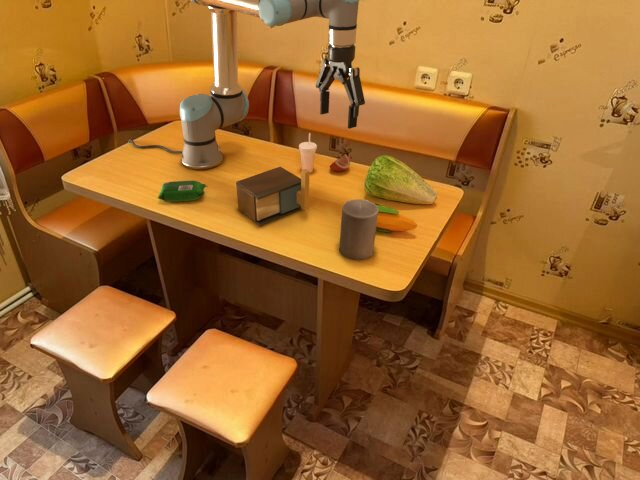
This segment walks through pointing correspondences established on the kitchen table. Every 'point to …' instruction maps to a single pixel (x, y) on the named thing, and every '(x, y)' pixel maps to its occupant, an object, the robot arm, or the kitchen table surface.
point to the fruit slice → (341, 163)
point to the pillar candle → (358, 229)
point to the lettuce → (397, 182)
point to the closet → (265, 195)
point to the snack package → (181, 191)
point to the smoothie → (307, 154)
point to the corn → (392, 220)
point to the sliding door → (296, 195)
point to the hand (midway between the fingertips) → (337, 120)
